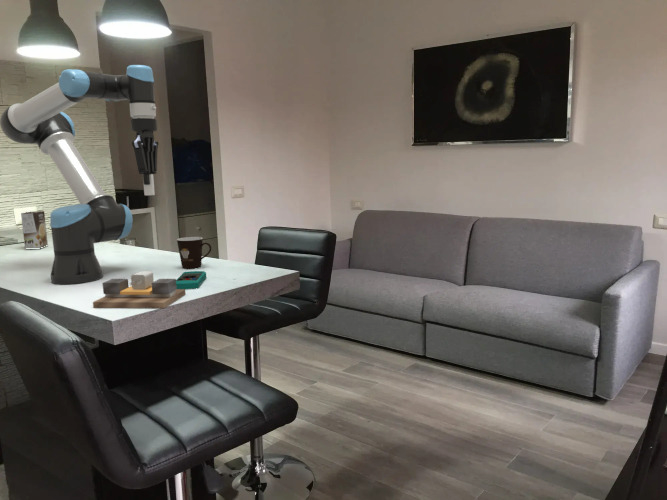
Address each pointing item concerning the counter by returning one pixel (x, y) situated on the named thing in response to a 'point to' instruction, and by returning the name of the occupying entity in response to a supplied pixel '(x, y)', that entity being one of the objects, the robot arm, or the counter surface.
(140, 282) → the usb wall charger
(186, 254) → the coffee mug
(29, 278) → the counter surface
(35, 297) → the counter surface
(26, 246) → the coffee box
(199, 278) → the digital multimeter
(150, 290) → the orange flat plate
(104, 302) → the board
